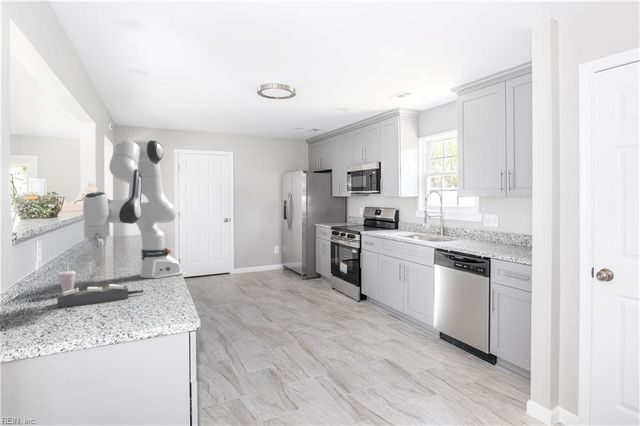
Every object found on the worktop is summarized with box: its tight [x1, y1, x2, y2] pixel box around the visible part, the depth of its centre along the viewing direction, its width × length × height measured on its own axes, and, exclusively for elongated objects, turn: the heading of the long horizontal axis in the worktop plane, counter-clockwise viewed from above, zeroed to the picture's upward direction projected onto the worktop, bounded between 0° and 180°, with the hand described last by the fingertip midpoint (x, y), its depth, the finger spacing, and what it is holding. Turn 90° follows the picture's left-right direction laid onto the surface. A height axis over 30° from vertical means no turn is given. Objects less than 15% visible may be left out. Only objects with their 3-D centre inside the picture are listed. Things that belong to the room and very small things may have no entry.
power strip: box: [56, 285, 144, 309], centre depth 151 cm, size 30×7×4 cm, turn 121°
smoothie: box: [57, 262, 77, 293], centre depth 159 cm, size 6×6×14 cm
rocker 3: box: [108, 283, 124, 289], centre depth 152 cm, size 5×3×1 cm, turn 122°
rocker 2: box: [86, 286, 103, 291], centre depth 148 cm, size 5×3×1 cm, turn 121°
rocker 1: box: [63, 287, 80, 296], centre depth 144 cm, size 5×3×1 cm, turn 121°
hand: (98, 266), depth 149 cm, fingers closed
